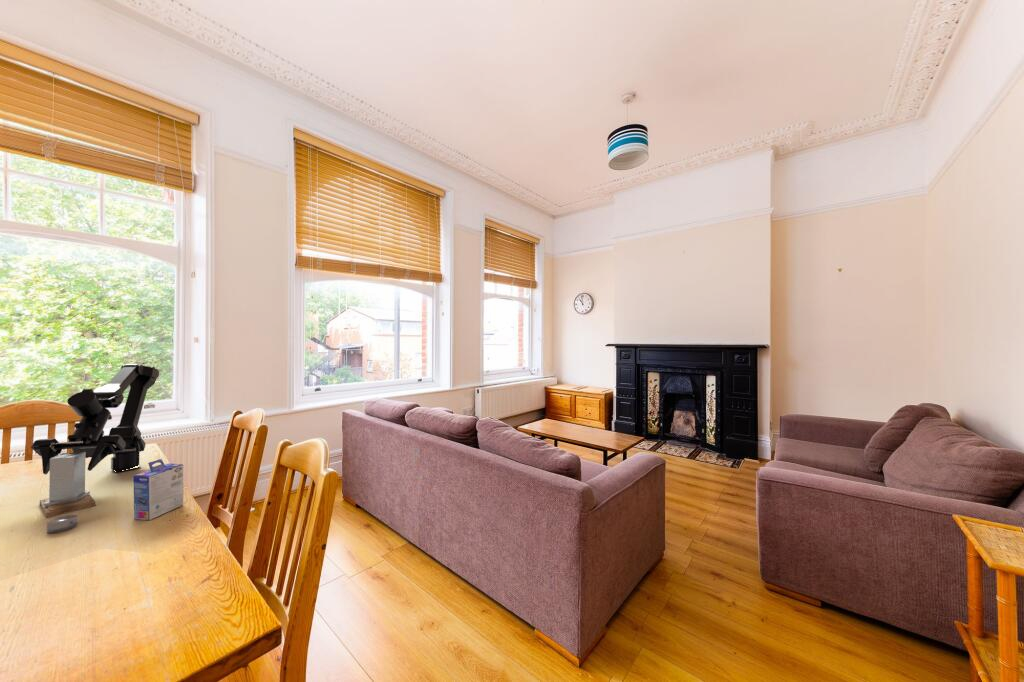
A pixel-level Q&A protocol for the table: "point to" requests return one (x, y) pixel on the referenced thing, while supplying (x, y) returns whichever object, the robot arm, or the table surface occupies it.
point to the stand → (67, 506)
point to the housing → (67, 479)
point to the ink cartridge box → (158, 490)
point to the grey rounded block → (61, 524)
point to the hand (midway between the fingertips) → (67, 471)
